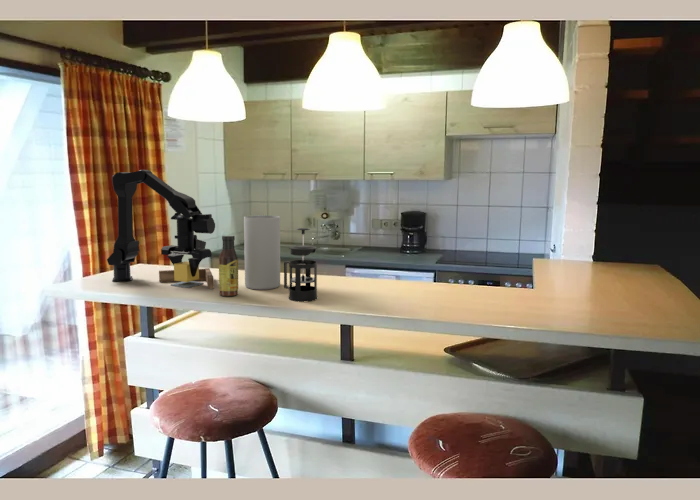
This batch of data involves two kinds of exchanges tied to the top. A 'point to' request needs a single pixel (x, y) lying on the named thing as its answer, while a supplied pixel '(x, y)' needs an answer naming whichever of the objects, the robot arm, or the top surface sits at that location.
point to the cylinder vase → (262, 252)
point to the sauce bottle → (228, 267)
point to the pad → (187, 284)
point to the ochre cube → (184, 272)
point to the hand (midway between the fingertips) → (186, 275)
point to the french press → (300, 291)
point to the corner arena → (203, 275)
